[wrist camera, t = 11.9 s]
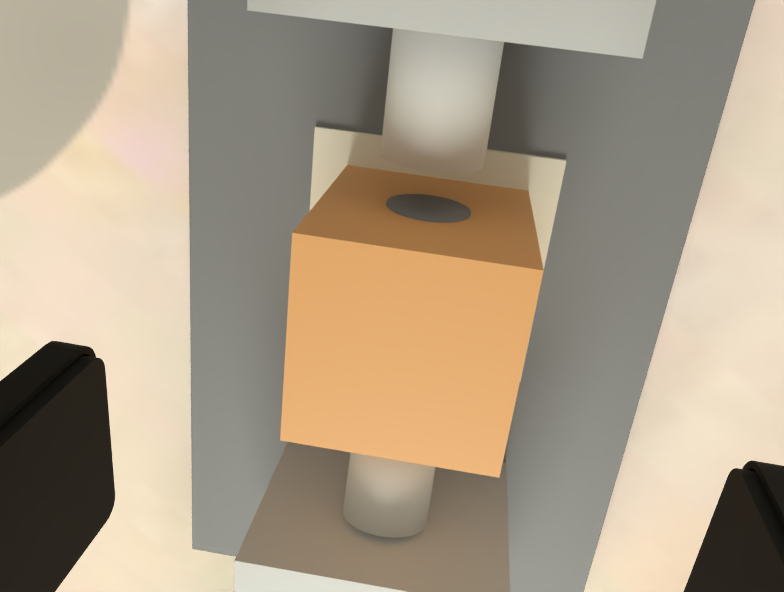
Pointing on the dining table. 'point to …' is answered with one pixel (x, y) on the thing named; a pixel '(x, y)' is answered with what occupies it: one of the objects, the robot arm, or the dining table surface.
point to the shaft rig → (454, 162)
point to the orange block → (410, 319)
